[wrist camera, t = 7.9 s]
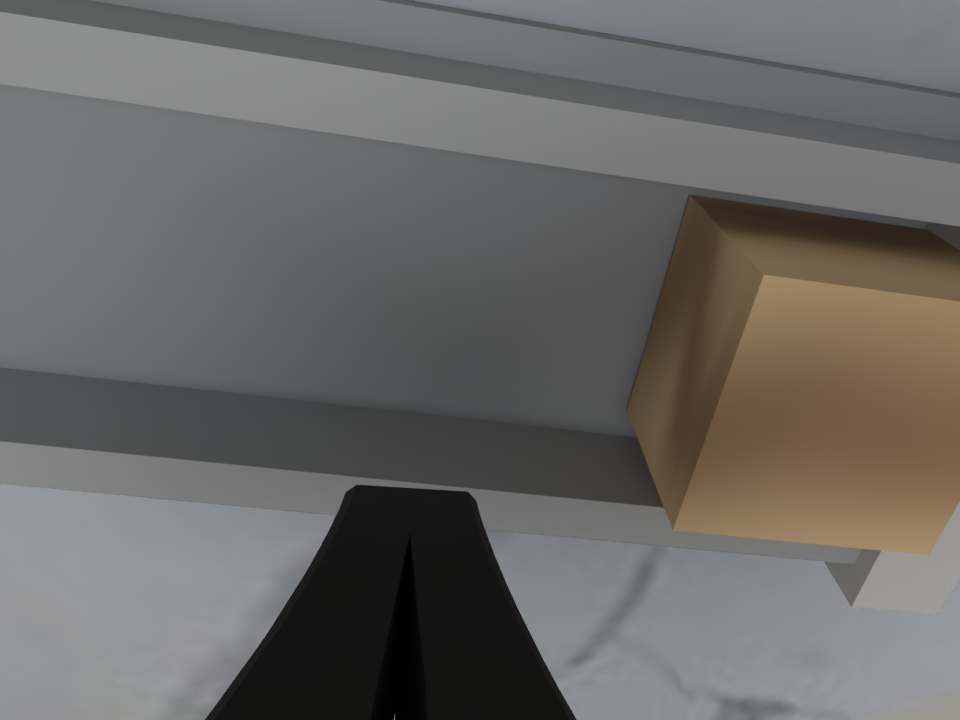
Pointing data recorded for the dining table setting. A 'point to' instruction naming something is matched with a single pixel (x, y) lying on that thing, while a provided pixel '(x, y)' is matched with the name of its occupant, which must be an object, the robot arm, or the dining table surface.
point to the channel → (399, 252)
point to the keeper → (804, 379)
